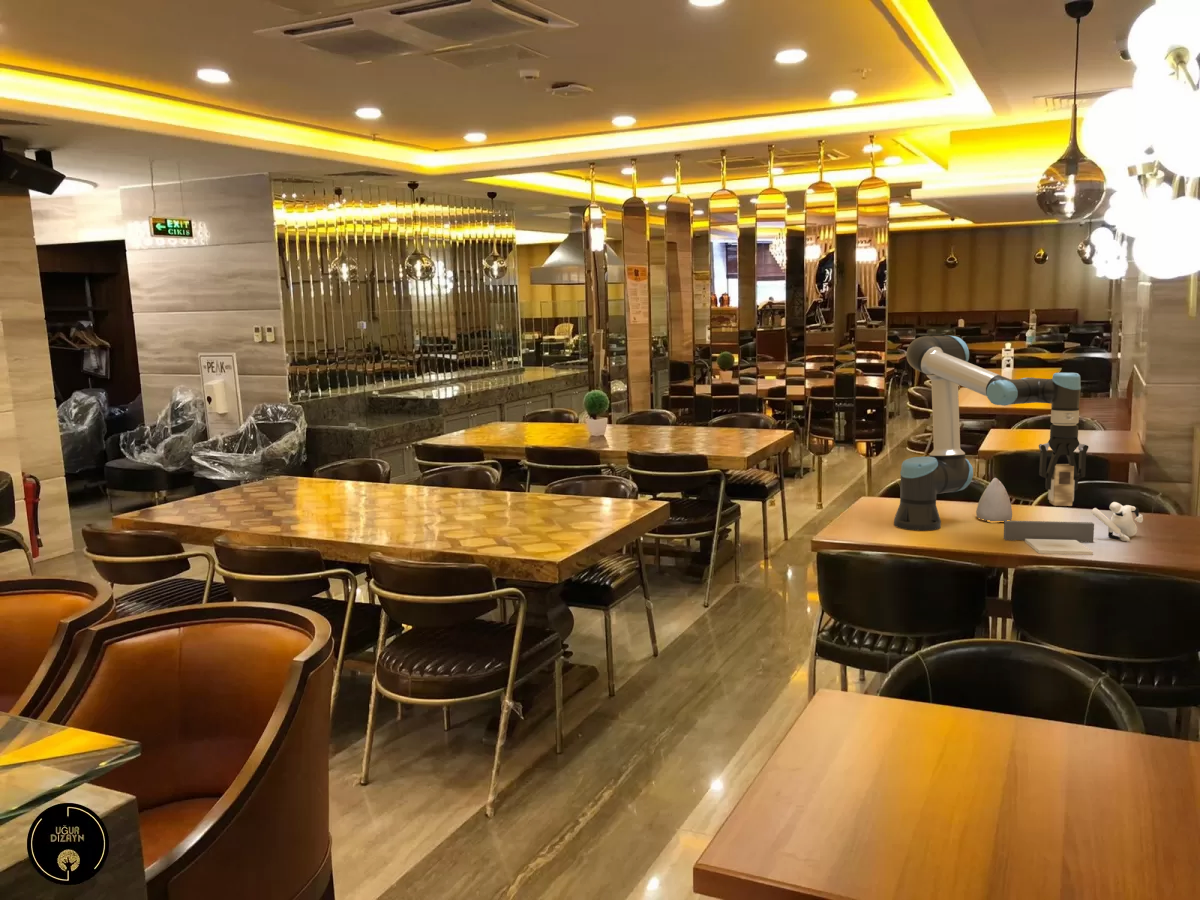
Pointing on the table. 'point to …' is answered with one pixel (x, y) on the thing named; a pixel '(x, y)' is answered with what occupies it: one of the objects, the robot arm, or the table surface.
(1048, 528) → the grey plank
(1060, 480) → the letter block
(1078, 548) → the mat
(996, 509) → the sculpture
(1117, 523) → the cricket player figurine
